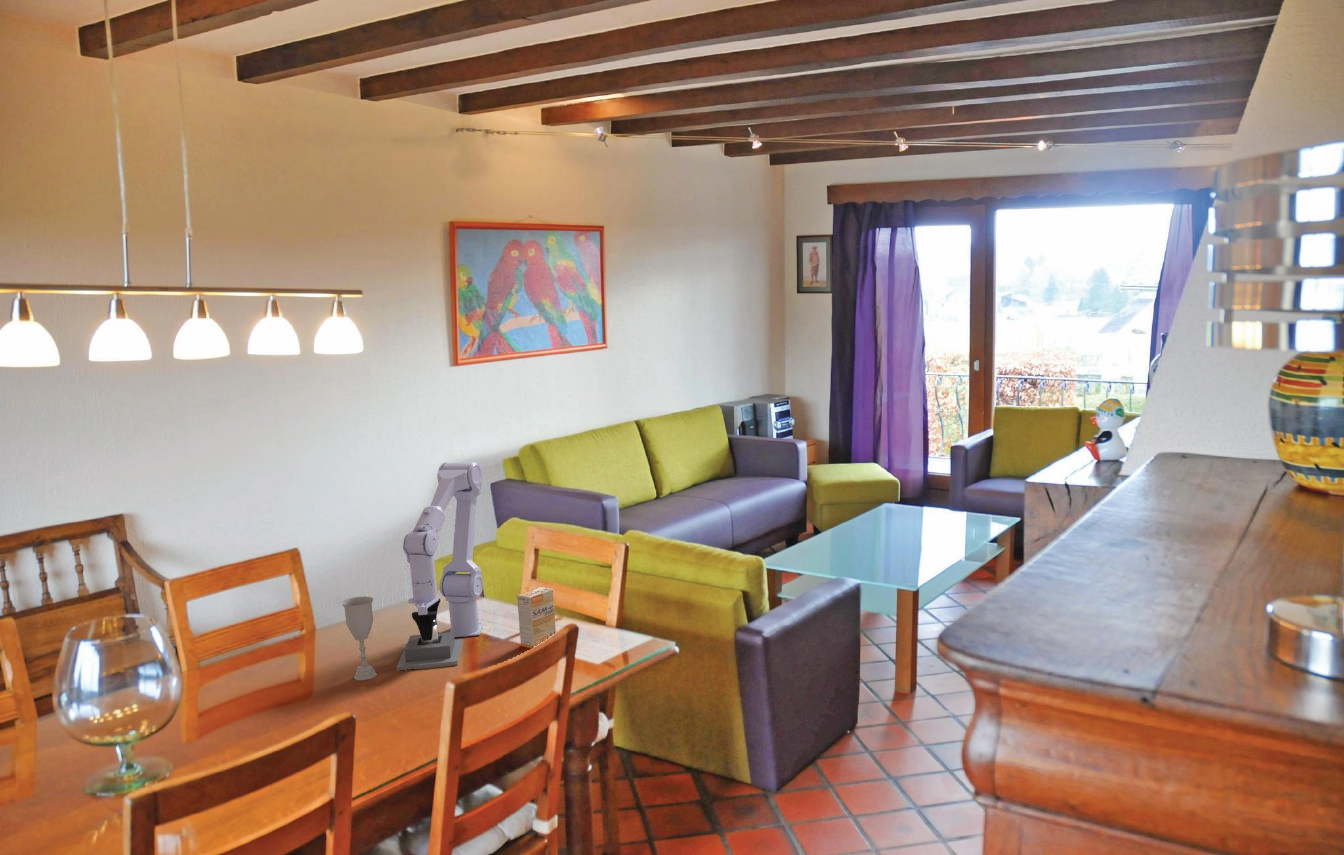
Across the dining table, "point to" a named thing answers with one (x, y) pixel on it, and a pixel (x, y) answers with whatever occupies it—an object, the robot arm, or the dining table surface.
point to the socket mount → (430, 652)
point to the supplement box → (536, 616)
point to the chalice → (360, 629)
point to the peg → (434, 636)
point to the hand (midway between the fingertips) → (429, 634)
